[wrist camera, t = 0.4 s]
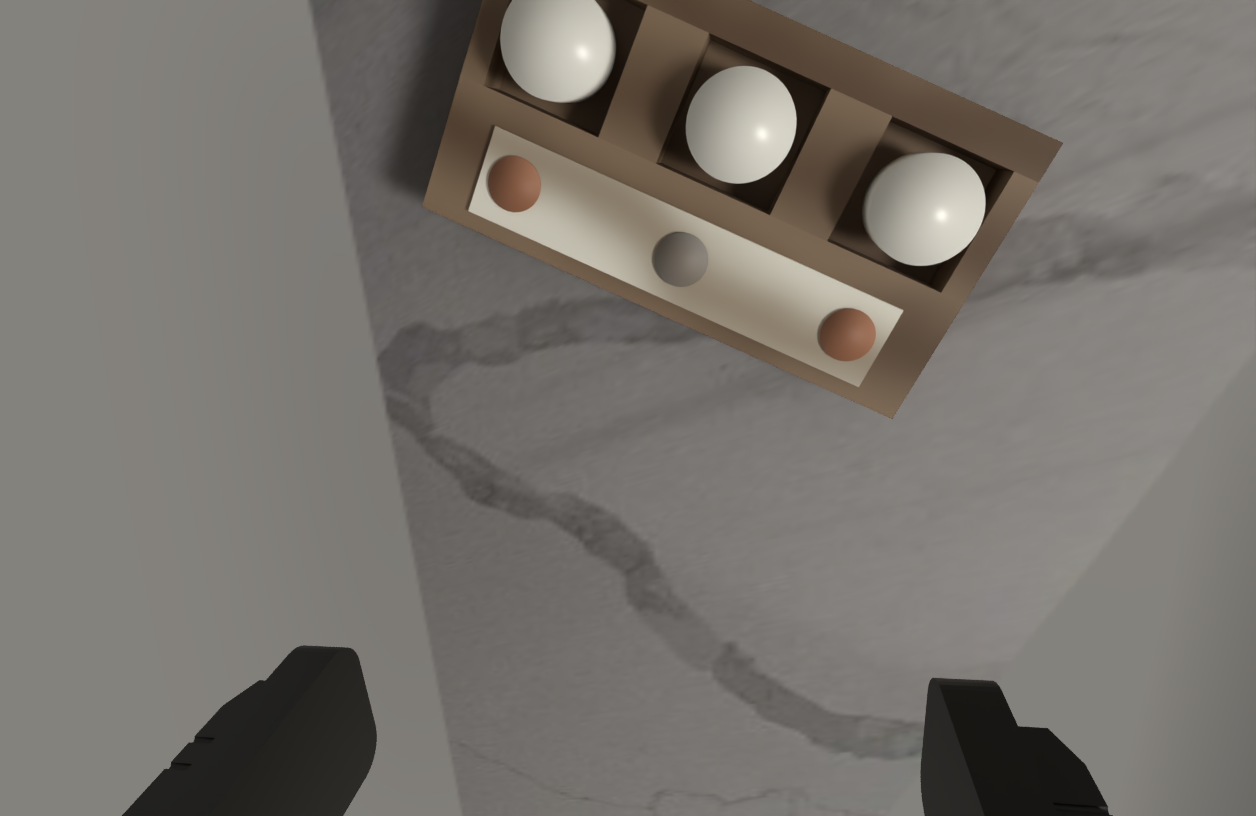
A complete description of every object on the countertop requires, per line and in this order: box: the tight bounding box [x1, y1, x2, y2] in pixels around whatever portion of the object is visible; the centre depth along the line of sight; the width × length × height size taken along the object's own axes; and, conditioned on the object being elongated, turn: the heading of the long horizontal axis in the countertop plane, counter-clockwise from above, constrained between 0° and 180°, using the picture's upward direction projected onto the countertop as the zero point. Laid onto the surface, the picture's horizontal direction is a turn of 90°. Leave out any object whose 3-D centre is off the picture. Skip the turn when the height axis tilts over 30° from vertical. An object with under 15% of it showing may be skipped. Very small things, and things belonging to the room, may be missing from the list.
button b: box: [686, 66, 796, 184], centre depth 27 cm, size 4×4×2 cm
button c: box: [500, 0, 616, 104], centre depth 27 cm, size 4×4×2 cm
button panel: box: [422, 0, 1063, 419], centre depth 30 cm, size 12×22×3 cm, turn 67°
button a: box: [862, 152, 986, 266], centre depth 27 cm, size 4×4×2 cm
